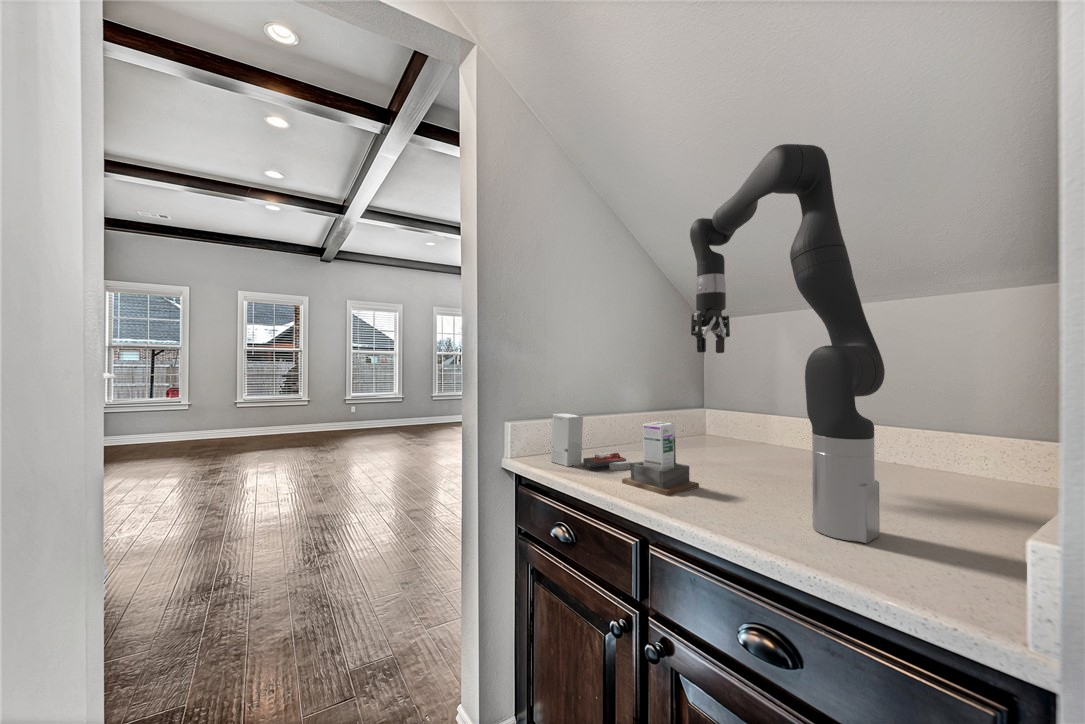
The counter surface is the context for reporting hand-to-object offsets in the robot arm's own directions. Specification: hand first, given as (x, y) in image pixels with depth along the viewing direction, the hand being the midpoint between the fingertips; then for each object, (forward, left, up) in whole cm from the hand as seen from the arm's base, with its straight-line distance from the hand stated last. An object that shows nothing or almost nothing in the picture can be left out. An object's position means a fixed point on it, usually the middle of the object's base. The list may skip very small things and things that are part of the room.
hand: (711, 352), depth 122 cm
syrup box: (+2, +19, -32) cm, 38 cm away
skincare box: (+35, +22, -33) cm, 53 cm away
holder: (+2, +19, -33) cm, 38 cm away
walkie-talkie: (+23, +13, -34) cm, 43 cm away
